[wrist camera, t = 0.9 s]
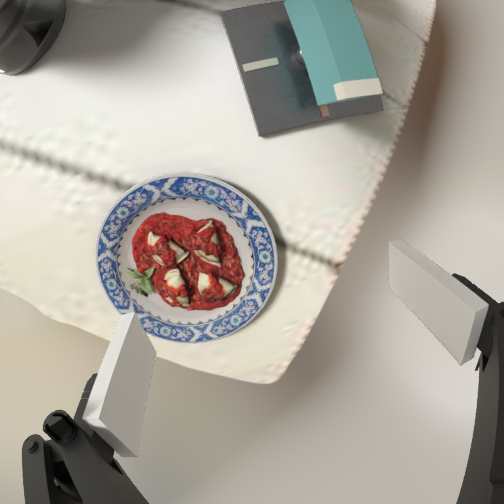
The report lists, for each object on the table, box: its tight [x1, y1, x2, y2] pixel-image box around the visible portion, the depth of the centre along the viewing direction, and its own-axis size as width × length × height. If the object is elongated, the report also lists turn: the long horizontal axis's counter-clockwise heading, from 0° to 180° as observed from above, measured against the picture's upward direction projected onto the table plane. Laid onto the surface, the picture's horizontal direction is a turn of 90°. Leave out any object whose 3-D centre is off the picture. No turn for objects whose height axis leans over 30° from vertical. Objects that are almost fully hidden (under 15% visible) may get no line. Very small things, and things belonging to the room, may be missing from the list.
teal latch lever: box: [284, 0, 383, 106], centre depth 24 cm, size 14×4×8 cm, turn 16°
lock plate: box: [220, 1, 383, 136], centre depth 30 cm, size 18×18×5 cm
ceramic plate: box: [95, 173, 278, 343], centre depth 40 cm, size 26×26×3 cm
